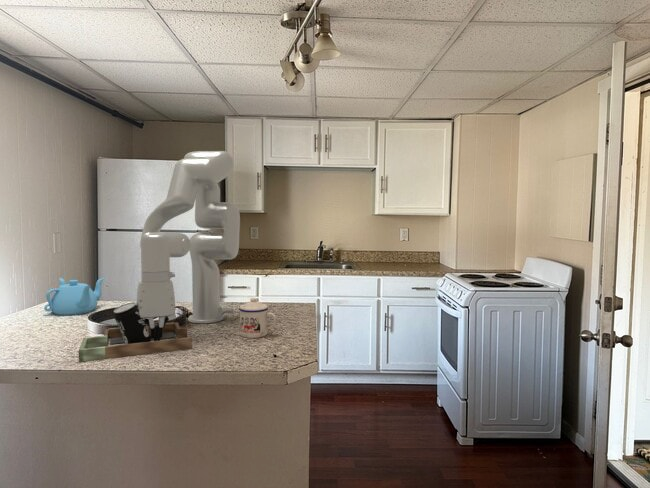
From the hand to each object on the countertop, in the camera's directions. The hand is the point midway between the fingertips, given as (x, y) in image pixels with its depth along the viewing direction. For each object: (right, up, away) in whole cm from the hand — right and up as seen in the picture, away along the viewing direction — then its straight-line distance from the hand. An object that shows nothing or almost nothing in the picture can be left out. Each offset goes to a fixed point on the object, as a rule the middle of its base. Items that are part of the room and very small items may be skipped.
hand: (156, 340), depth 121 cm
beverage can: (-4, -1, -1) cm, 4 cm away
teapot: (-48, +1, +43) cm, 65 cm away
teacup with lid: (+27, -1, +13) cm, 30 cm away
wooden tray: (-6, -2, +2) cm, 7 cm away
